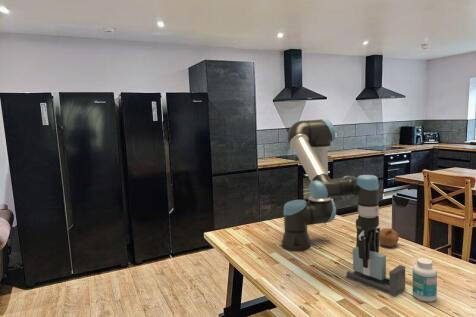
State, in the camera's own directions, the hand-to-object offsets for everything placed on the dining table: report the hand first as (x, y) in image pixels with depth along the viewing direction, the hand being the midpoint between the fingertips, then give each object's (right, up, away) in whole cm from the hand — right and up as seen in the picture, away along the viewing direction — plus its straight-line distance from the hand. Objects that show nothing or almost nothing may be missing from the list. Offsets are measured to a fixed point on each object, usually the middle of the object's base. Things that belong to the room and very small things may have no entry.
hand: (369, 272), depth 125 cm
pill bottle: (+14, -4, -13) cm, 19 cm away
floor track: (+1, -4, -1) cm, 4 cm away
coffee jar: (+9, -1, +23) cm, 25 cm away
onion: (+23, +1, +34) cm, 41 cm away
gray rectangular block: (0, 0, 0) cm, 0 cm away
